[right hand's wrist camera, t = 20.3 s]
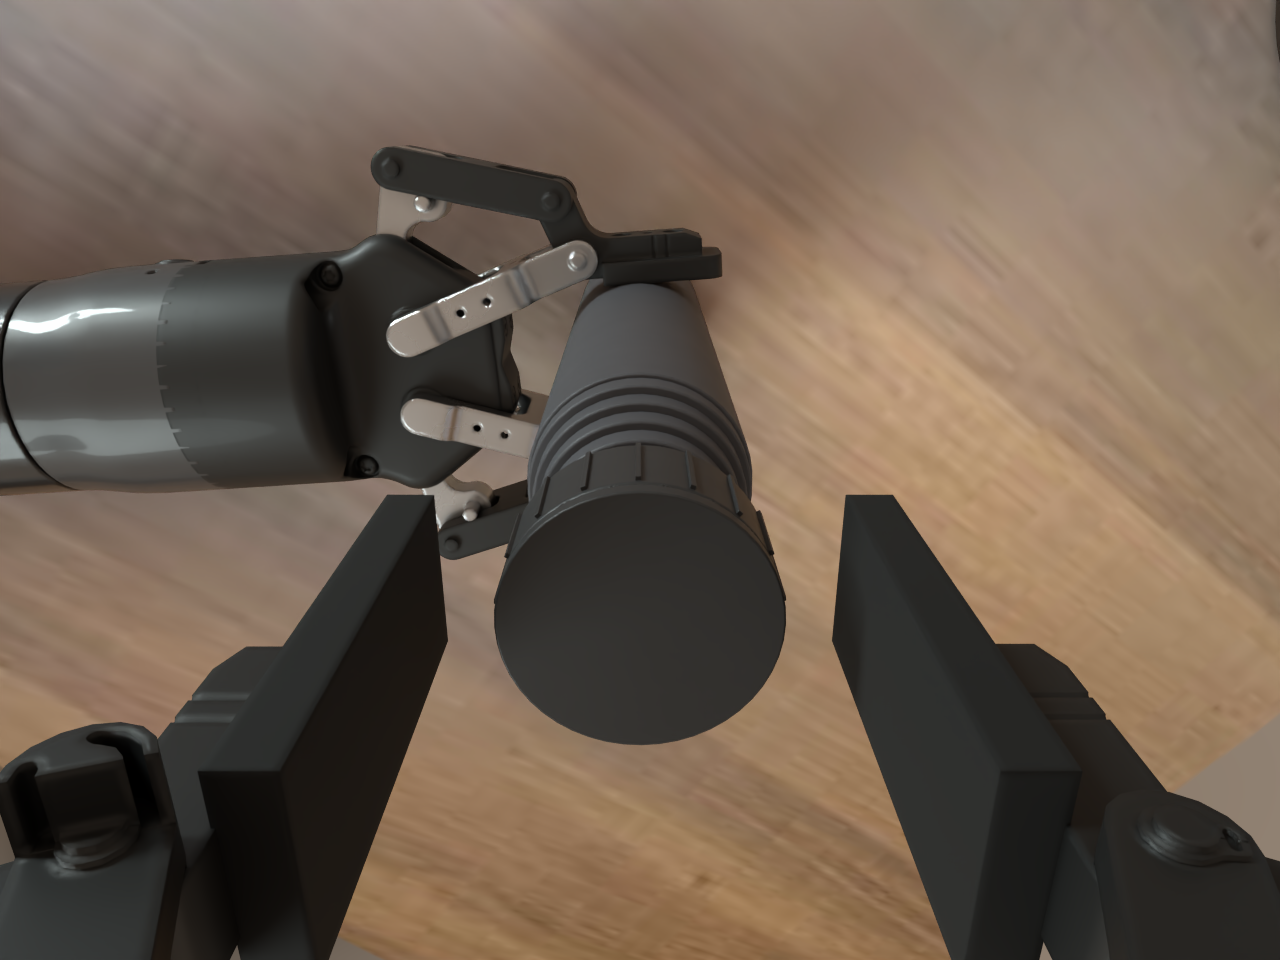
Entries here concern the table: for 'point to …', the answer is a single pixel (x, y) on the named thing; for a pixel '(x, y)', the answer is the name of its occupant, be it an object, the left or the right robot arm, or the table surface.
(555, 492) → the cap
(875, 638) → the right robot arm
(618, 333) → the bottle
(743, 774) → the table surface
